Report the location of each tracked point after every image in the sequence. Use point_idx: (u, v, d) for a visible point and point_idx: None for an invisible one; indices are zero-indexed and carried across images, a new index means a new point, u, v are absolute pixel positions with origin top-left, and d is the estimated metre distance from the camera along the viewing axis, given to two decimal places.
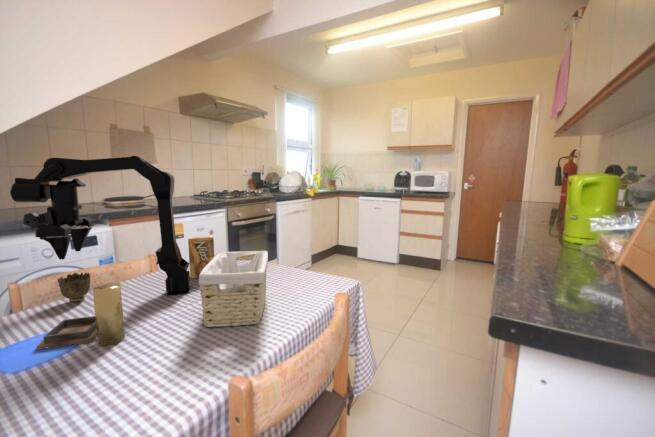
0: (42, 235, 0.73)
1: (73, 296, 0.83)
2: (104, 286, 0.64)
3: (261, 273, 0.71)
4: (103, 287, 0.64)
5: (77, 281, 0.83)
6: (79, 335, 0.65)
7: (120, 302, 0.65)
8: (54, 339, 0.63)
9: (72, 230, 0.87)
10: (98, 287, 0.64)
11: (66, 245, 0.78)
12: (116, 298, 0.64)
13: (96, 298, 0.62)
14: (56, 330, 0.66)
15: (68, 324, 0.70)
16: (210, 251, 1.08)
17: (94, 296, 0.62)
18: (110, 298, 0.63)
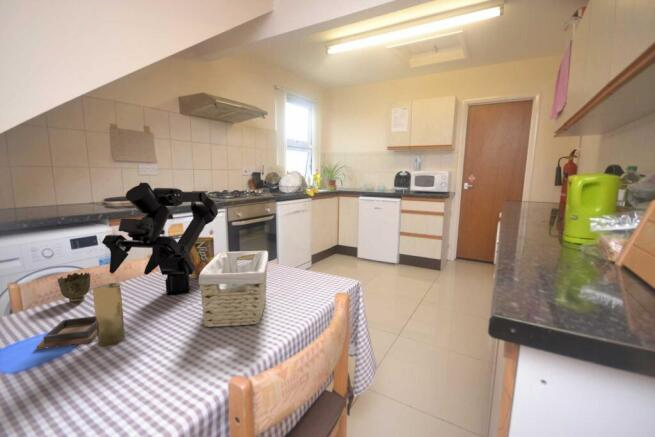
0: (172, 245, 0.75)
1: (73, 296, 0.83)
2: (104, 286, 0.65)
3: (261, 273, 0.71)
4: (103, 287, 0.64)
5: (77, 281, 0.83)
6: (79, 335, 0.65)
7: (120, 302, 0.65)
8: (54, 339, 0.63)
9: (119, 248, 0.75)
10: (98, 287, 0.64)
11: (161, 262, 0.76)
12: (116, 298, 0.64)
13: (96, 298, 0.62)
14: (56, 330, 0.66)
15: (68, 324, 0.70)
16: (210, 251, 1.08)
17: (94, 296, 0.62)
18: (110, 298, 0.63)
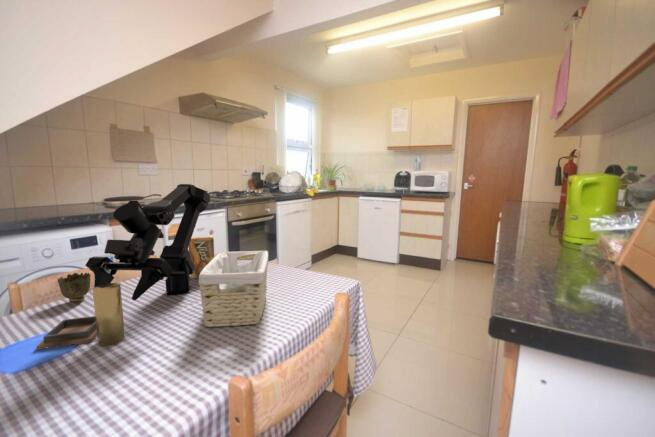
0: (163, 267, 0.70)
1: (73, 296, 0.83)
2: (104, 286, 0.65)
3: (261, 273, 0.71)
4: (103, 287, 0.64)
5: (77, 281, 0.83)
6: (79, 335, 0.65)
7: (120, 302, 0.65)
8: (54, 339, 0.63)
9: (104, 271, 0.70)
10: (98, 287, 0.64)
11: (150, 286, 0.70)
12: (116, 298, 0.64)
13: (96, 298, 0.62)
14: (56, 330, 0.66)
15: (68, 324, 0.70)
16: (210, 251, 1.08)
17: (94, 295, 0.62)
18: (110, 298, 0.63)
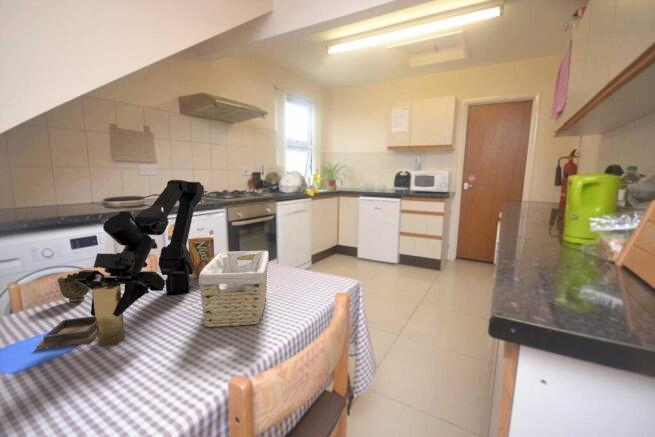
0: (155, 281, 0.67)
1: (73, 296, 0.83)
2: (104, 286, 0.64)
3: (261, 273, 0.71)
4: (103, 287, 0.64)
5: None
6: (79, 335, 0.65)
7: None
8: (54, 339, 0.63)
9: None
10: (98, 287, 0.64)
11: (134, 301, 0.68)
12: (116, 298, 0.64)
13: (96, 298, 0.62)
14: (56, 330, 0.66)
15: (68, 324, 0.70)
16: (210, 251, 1.08)
17: (94, 296, 0.62)
18: (110, 298, 0.63)
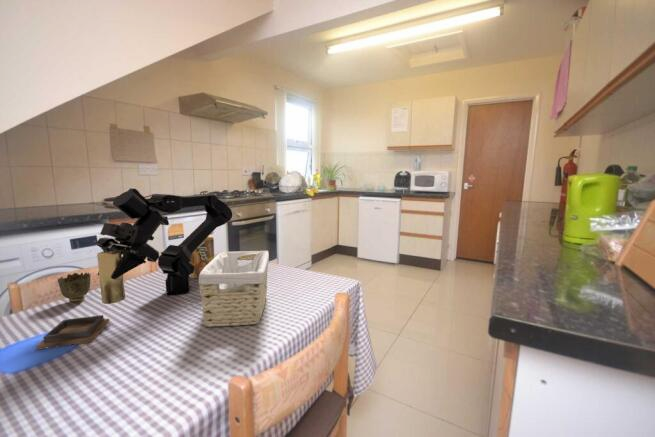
0: (145, 252, 0.73)
1: (73, 296, 0.83)
2: (108, 251, 0.74)
3: (261, 273, 0.71)
4: (106, 252, 0.73)
5: (77, 281, 0.83)
6: (79, 335, 0.65)
7: None
8: (54, 339, 0.63)
9: None
10: (104, 252, 0.74)
11: (132, 268, 0.76)
12: (114, 263, 0.73)
13: (98, 260, 0.72)
14: (56, 330, 0.66)
15: (68, 324, 0.70)
16: (210, 251, 1.08)
17: None
18: (107, 262, 0.72)
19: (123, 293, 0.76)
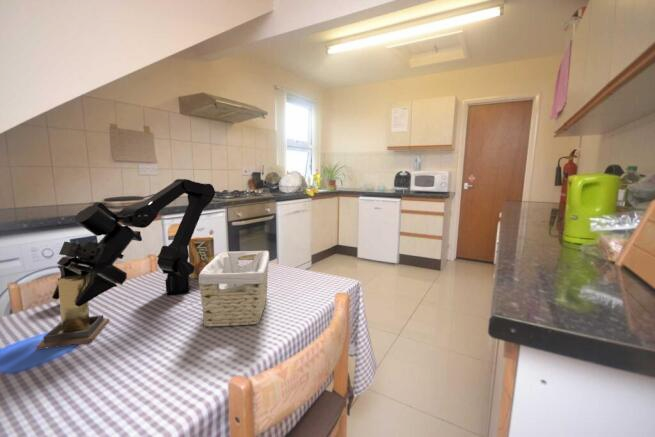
0: (109, 275, 0.65)
1: None
2: (72, 277, 0.67)
3: (260, 273, 0.71)
4: (69, 279, 0.66)
5: None
6: (79, 335, 0.65)
7: None
8: (54, 339, 0.63)
9: (70, 271, 0.70)
10: (66, 278, 0.67)
11: (101, 293, 0.67)
12: (76, 290, 0.65)
13: None
14: (56, 330, 0.66)
15: None
16: (210, 251, 1.08)
17: (58, 285, 0.65)
18: (69, 290, 0.65)
19: (87, 323, 0.68)
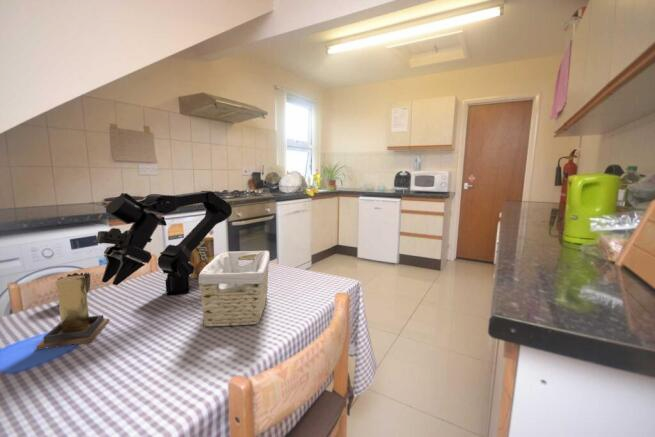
0: (133, 254, 0.72)
1: None
2: (70, 278, 0.67)
3: (260, 273, 0.71)
4: (67, 279, 0.66)
5: None
6: (79, 335, 0.65)
7: (81, 295, 0.67)
8: (54, 339, 0.63)
9: (113, 258, 0.80)
10: (65, 278, 0.67)
11: (133, 272, 0.74)
12: (75, 290, 0.65)
13: (57, 288, 0.65)
14: (56, 330, 0.66)
15: None
16: (210, 251, 1.08)
17: (57, 286, 0.65)
18: (68, 290, 0.65)
19: (87, 323, 0.68)
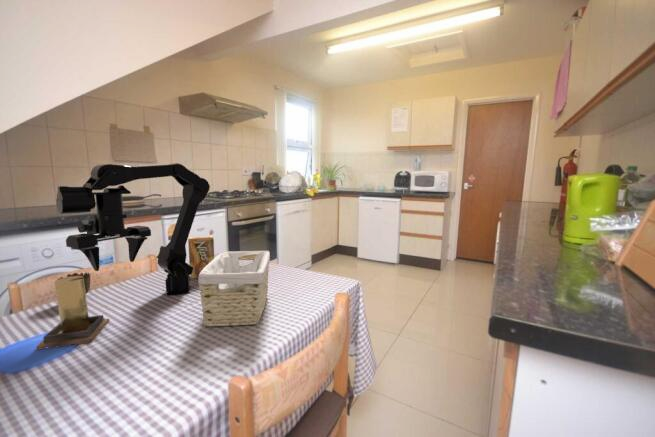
0: (68, 245, 0.70)
1: None
2: (69, 278, 0.67)
3: (260, 273, 0.71)
4: (65, 280, 0.66)
5: None
6: (79, 335, 0.65)
7: (80, 295, 0.66)
8: (54, 339, 0.63)
9: (129, 239, 0.83)
10: (63, 278, 0.66)
11: (93, 257, 0.72)
12: (74, 291, 0.65)
13: (56, 289, 0.64)
14: (56, 330, 0.66)
15: None
16: (210, 251, 1.08)
17: None
18: (67, 291, 0.64)
19: (87, 323, 0.68)
